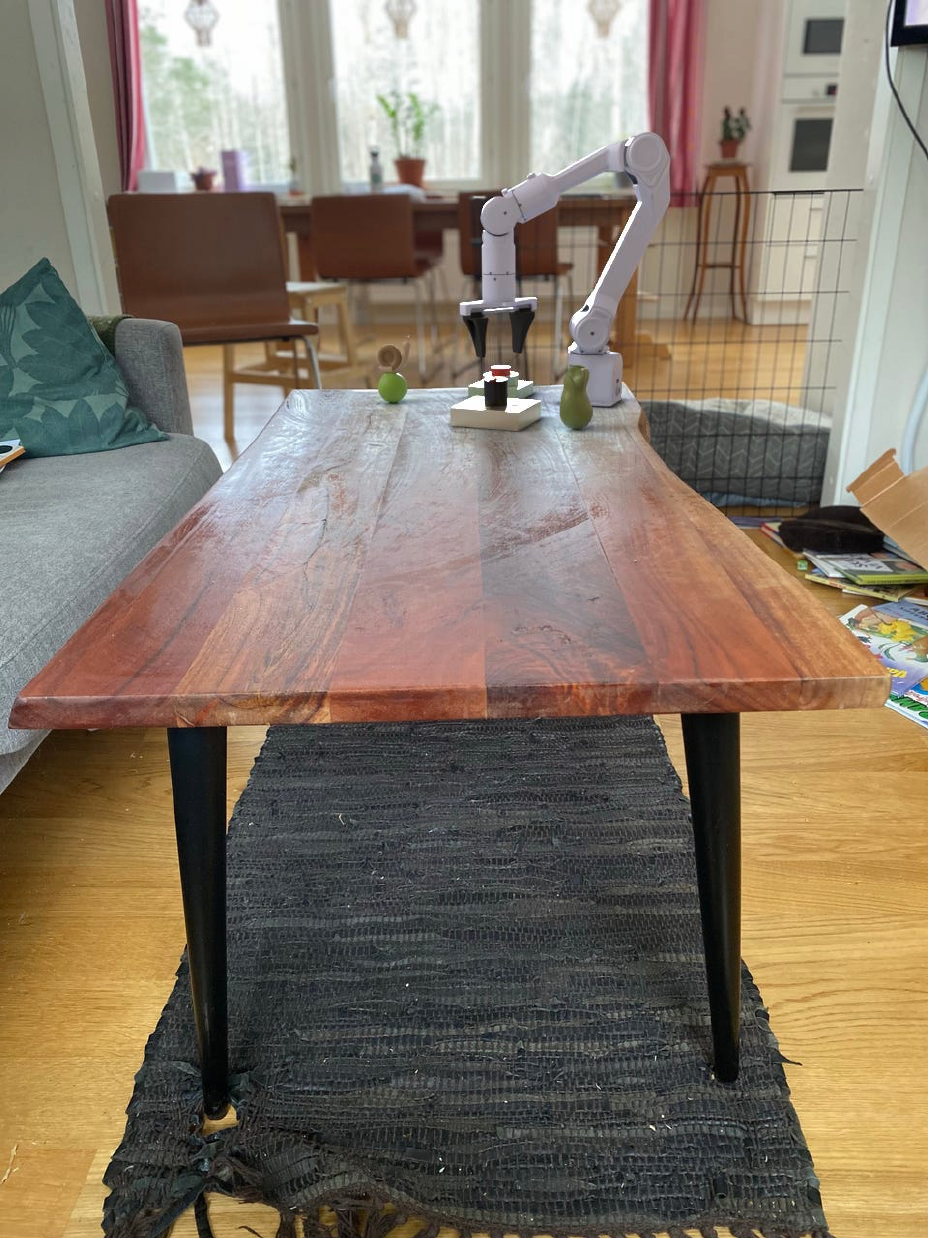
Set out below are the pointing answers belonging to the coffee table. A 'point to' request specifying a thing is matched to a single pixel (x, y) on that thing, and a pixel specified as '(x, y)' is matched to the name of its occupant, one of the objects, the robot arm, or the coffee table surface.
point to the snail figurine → (393, 372)
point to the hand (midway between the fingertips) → (499, 354)
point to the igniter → (514, 387)
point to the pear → (575, 398)
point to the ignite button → (500, 370)
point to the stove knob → (495, 391)
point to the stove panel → (495, 414)
